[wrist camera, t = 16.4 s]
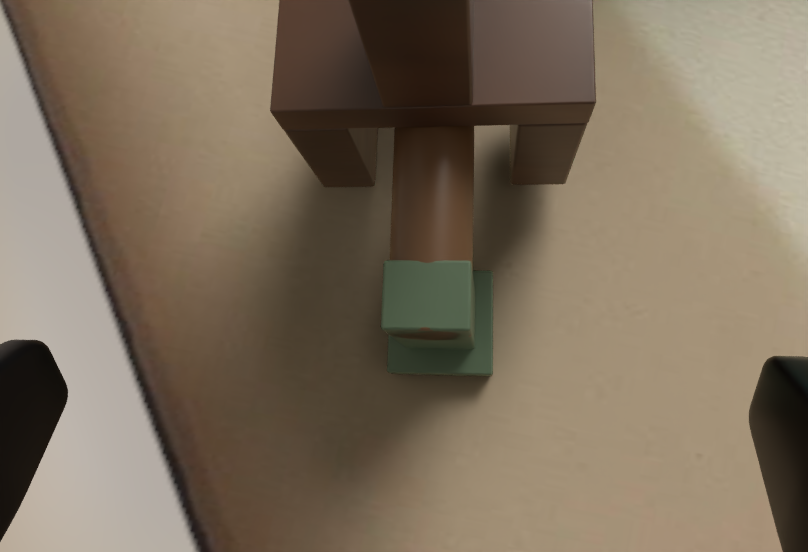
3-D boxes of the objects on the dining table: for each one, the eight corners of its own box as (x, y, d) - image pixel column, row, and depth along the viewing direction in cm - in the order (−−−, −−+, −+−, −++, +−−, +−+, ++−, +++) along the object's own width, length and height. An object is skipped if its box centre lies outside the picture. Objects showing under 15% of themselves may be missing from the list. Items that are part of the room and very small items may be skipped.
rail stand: (492, 376, 18) (493, 364, 13) (390, 373, 19) (356, 361, 14) (493, -42, 21) (495, -178, 16) (406, -37, 21) (381, -168, 17)
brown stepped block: (563, 90, 19) (643, -221, 9) (565, 185, 18) (653, -49, 9) (329, 97, 20) (193, -181, 10) (323, 187, 19) (173, -22, 10)
